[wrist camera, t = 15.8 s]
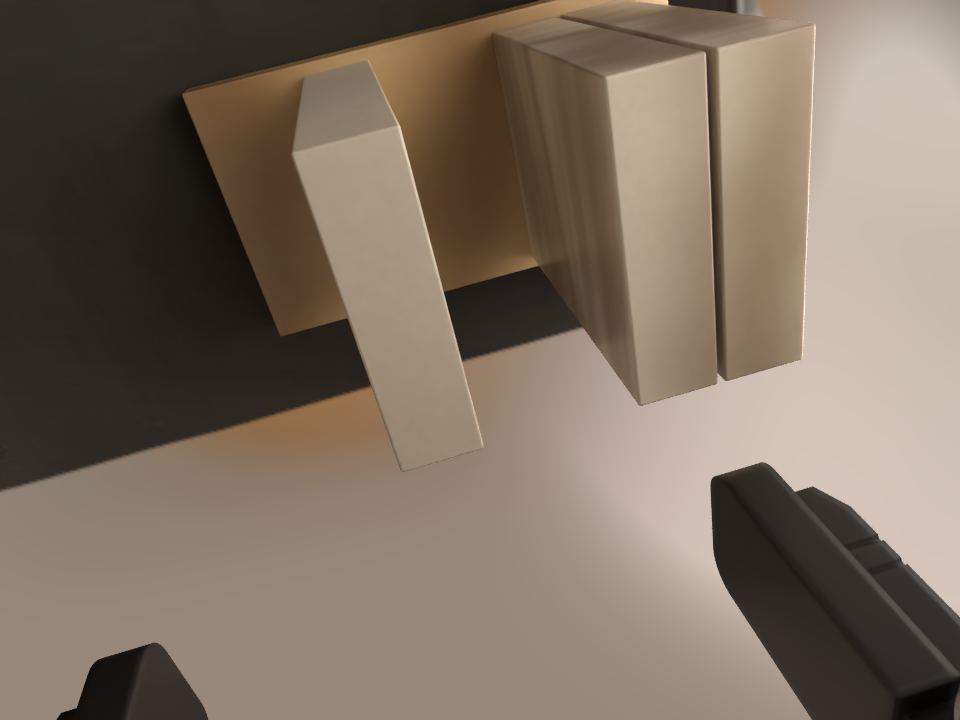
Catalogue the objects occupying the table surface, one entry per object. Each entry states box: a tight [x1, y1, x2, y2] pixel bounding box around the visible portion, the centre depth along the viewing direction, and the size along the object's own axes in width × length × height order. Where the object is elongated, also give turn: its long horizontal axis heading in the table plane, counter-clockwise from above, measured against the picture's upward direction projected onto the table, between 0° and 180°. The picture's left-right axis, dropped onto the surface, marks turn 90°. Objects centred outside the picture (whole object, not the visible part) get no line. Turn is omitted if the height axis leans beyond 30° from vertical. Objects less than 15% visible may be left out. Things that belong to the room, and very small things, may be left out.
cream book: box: [291, 60, 484, 472], centre depth 22 cm, size 2×9×12 cm, turn 12°
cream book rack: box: [182, 0, 816, 406], centre depth 23 cm, size 18×10×13 cm, turn 102°
